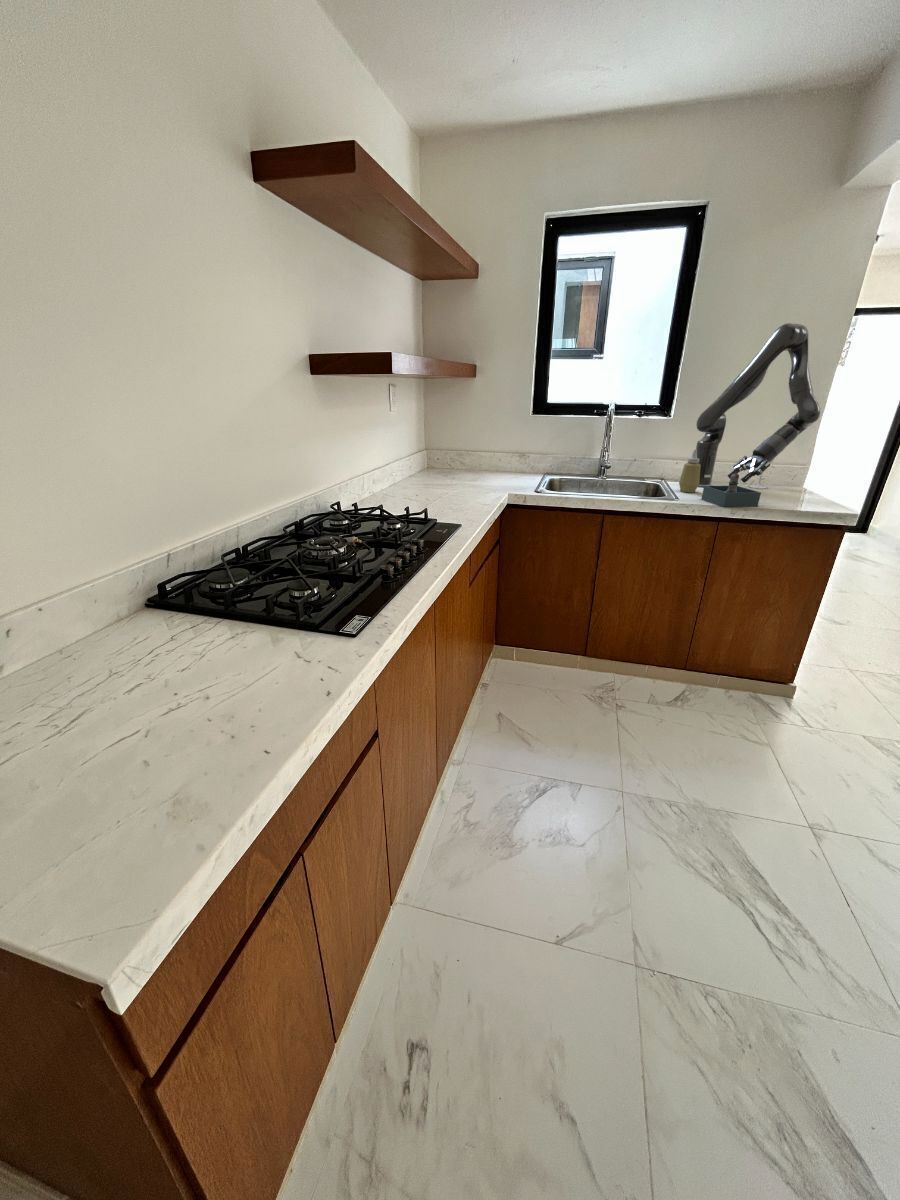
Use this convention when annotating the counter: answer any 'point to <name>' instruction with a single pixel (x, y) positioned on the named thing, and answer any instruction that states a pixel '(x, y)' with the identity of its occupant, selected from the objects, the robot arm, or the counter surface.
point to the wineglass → (760, 479)
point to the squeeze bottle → (690, 474)
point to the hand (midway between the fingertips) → (735, 479)
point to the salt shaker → (733, 483)
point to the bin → (731, 496)
